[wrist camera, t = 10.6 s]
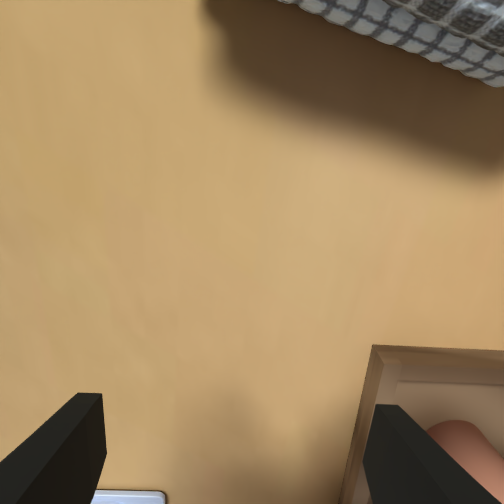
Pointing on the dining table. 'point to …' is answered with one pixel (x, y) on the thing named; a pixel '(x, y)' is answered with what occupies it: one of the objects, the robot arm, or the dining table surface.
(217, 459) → the dining table surface
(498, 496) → the dowel
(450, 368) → the tray
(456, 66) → the towel
